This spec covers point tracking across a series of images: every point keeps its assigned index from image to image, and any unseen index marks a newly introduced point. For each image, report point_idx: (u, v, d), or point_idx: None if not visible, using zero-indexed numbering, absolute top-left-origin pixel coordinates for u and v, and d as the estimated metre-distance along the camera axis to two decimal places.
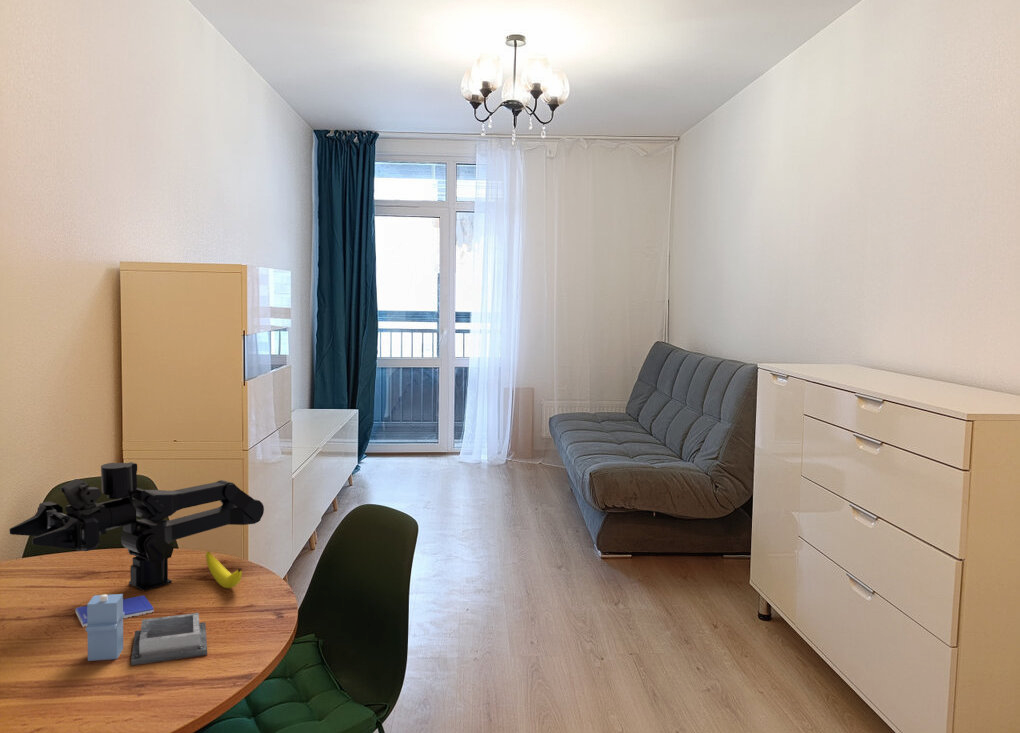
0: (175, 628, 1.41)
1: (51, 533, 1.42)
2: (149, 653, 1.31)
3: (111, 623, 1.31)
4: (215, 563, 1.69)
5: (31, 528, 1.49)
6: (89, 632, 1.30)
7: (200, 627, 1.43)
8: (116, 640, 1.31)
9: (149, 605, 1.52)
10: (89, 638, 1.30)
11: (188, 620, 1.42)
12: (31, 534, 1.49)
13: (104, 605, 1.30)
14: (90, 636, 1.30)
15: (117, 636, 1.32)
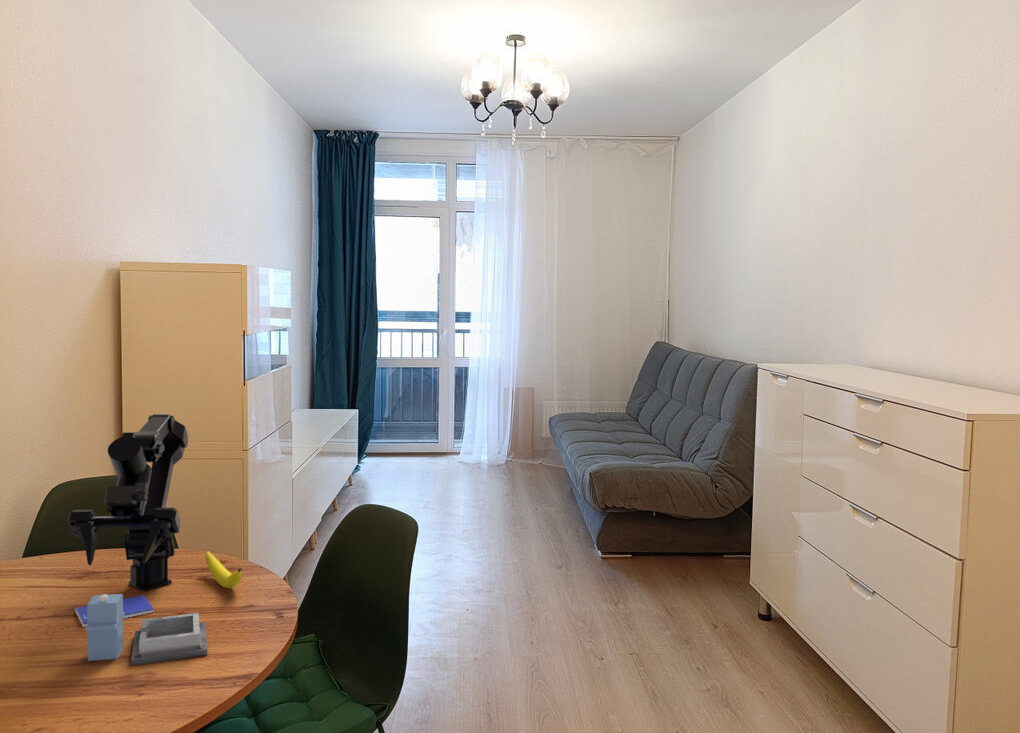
0: (175, 628, 1.41)
1: (151, 545, 1.42)
2: (149, 653, 1.31)
3: (111, 623, 1.31)
4: (215, 563, 1.69)
5: (93, 546, 1.41)
6: (90, 632, 1.30)
7: (200, 627, 1.43)
8: (116, 640, 1.31)
9: (149, 605, 1.52)
10: (89, 638, 1.30)
11: (188, 620, 1.42)
12: None
13: (104, 605, 1.30)
14: (90, 636, 1.30)
15: (117, 636, 1.32)
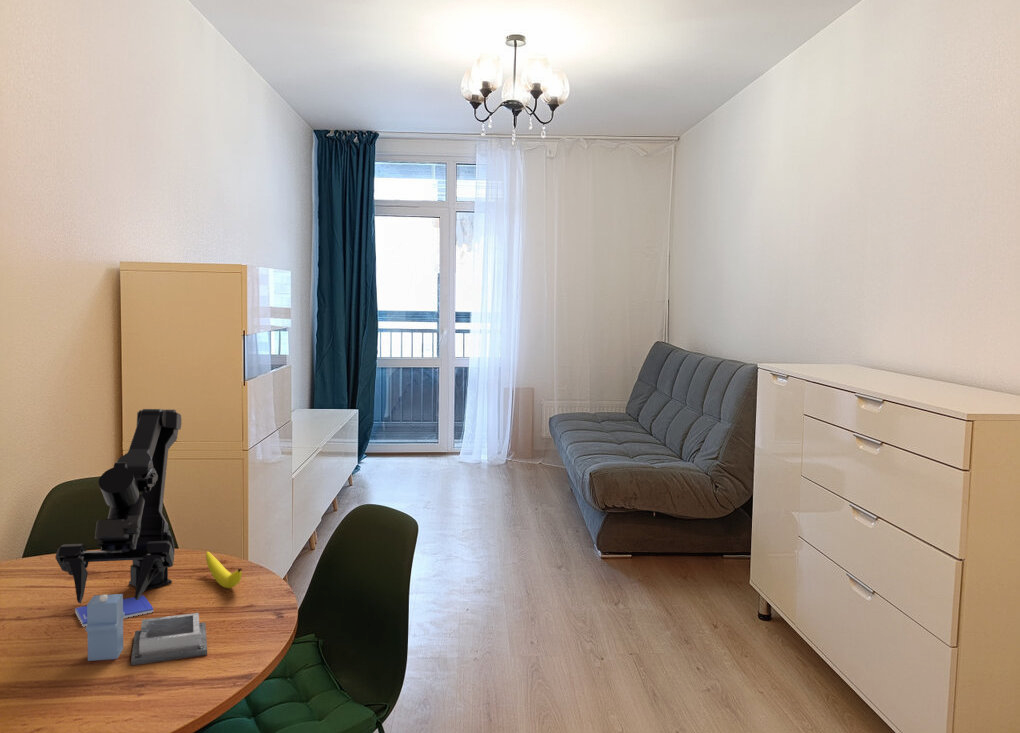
0: (175, 628, 1.41)
1: (143, 580, 1.36)
2: (149, 653, 1.31)
3: (111, 623, 1.31)
4: (215, 563, 1.69)
5: (83, 582, 1.35)
6: (90, 632, 1.30)
7: (200, 627, 1.43)
8: (116, 640, 1.31)
9: (149, 605, 1.52)
10: (89, 638, 1.30)
11: (188, 620, 1.42)
12: None
13: (104, 605, 1.30)
14: (90, 636, 1.30)
15: (117, 636, 1.32)
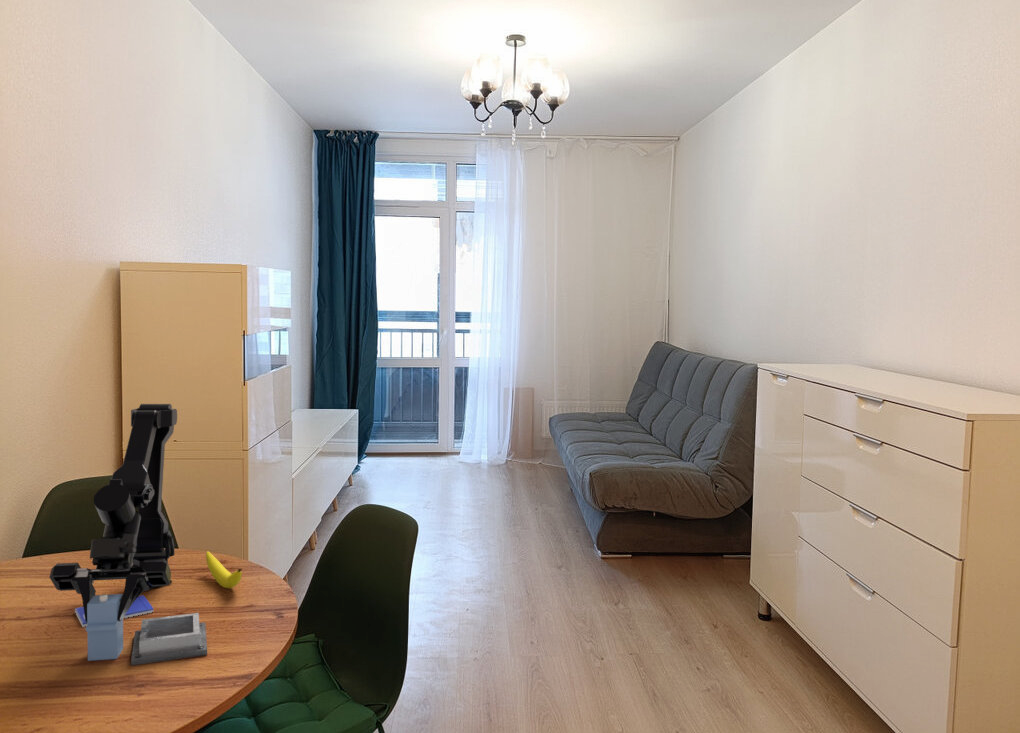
0: (175, 628, 1.41)
1: (126, 601, 1.33)
2: (149, 653, 1.31)
3: (111, 623, 1.31)
4: (215, 563, 1.69)
5: None
6: (89, 632, 1.30)
7: (200, 627, 1.43)
8: (116, 640, 1.31)
9: (149, 605, 1.52)
10: (89, 638, 1.30)
11: (188, 620, 1.42)
12: None
13: (104, 605, 1.30)
14: (90, 636, 1.30)
15: (117, 636, 1.32)
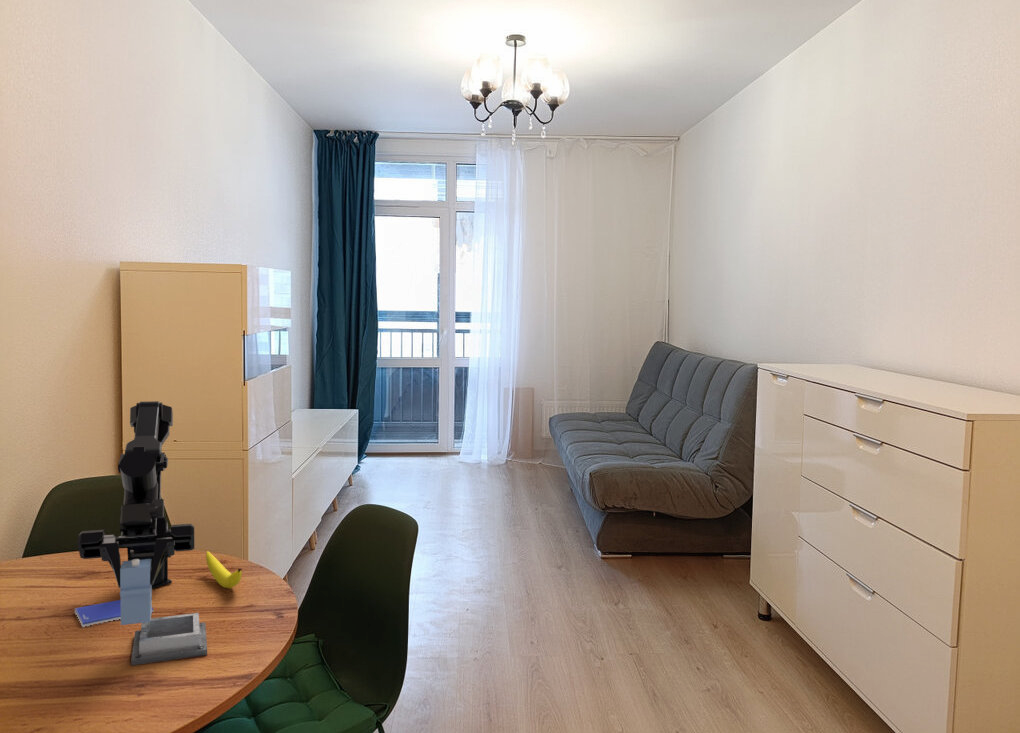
0: (175, 628, 1.41)
1: (157, 565, 1.35)
2: (149, 653, 1.31)
3: (144, 586, 1.32)
4: (215, 563, 1.69)
5: (120, 567, 1.34)
6: (122, 596, 1.31)
7: (200, 627, 1.43)
8: (149, 603, 1.33)
9: None
10: (122, 602, 1.31)
11: (188, 620, 1.42)
12: None
13: (137, 569, 1.32)
14: (123, 600, 1.31)
15: (150, 599, 1.33)
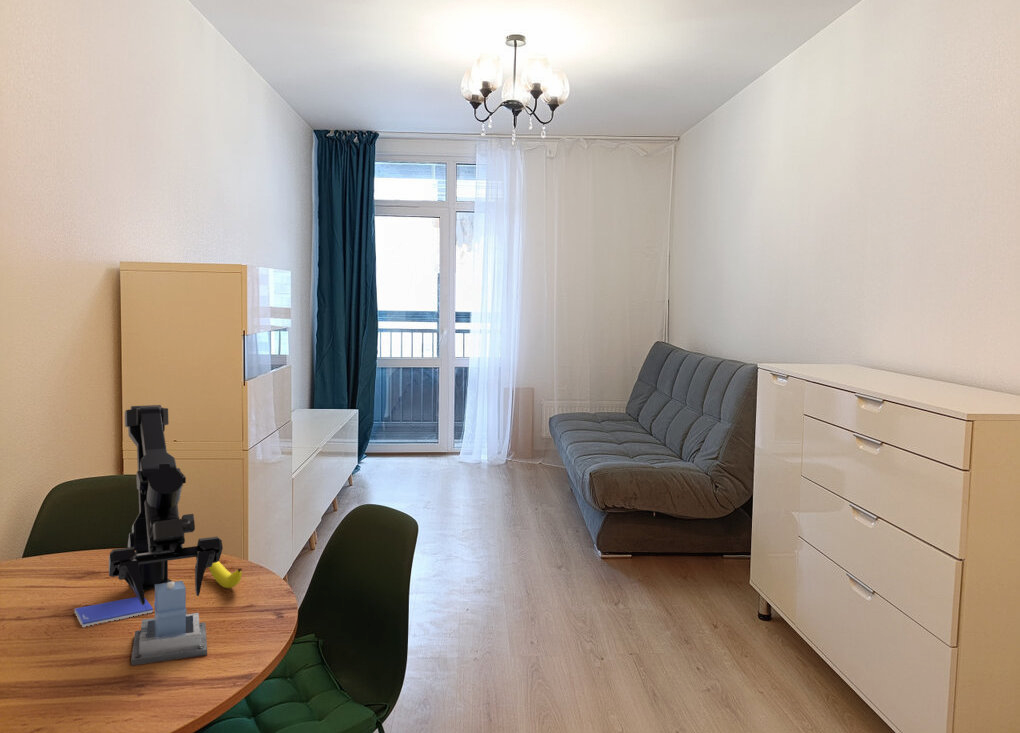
0: None
1: (202, 576, 1.39)
2: (149, 653, 1.31)
3: (180, 608, 1.35)
4: (215, 563, 1.69)
5: None
6: (159, 619, 1.34)
7: (200, 627, 1.43)
8: (184, 624, 1.36)
9: (148, 605, 1.52)
10: (159, 625, 1.34)
11: (188, 620, 1.42)
12: None
13: (173, 592, 1.35)
14: (160, 623, 1.34)
15: None
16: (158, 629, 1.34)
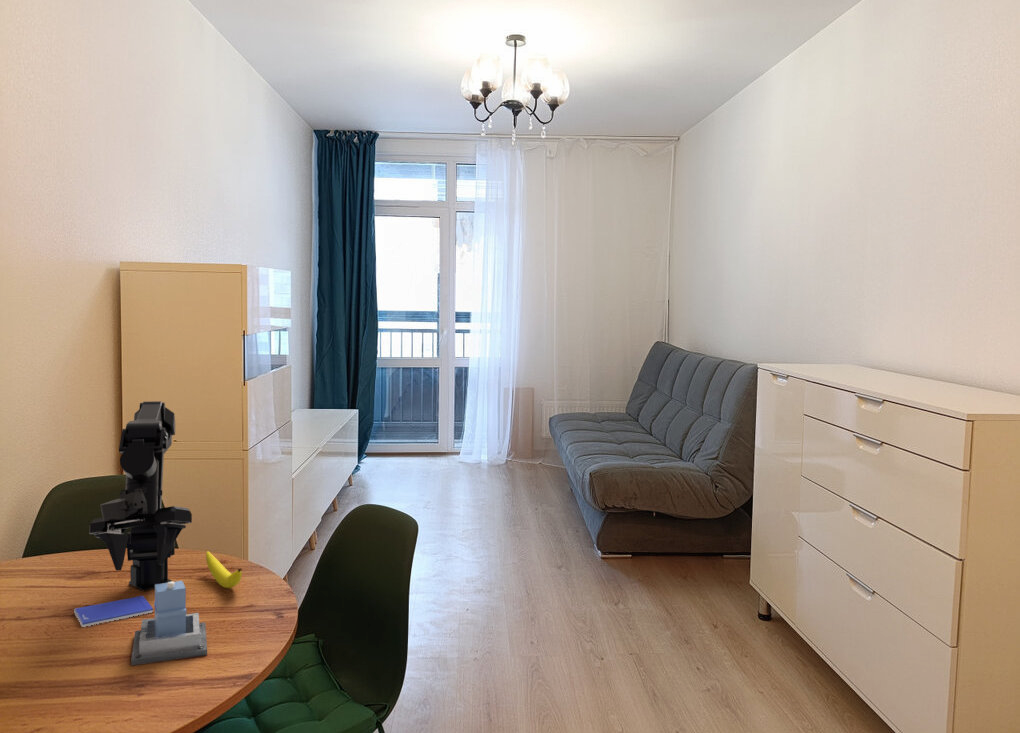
0: None
1: (161, 547, 1.43)
2: (149, 653, 1.31)
3: (180, 608, 1.35)
4: (215, 563, 1.69)
5: (120, 550, 1.46)
6: (159, 619, 1.34)
7: (200, 627, 1.43)
8: (184, 624, 1.36)
9: (148, 605, 1.52)
10: (159, 625, 1.34)
11: (188, 620, 1.42)
12: (124, 550, 1.47)
13: (173, 592, 1.35)
14: (160, 623, 1.34)
15: None
16: (158, 629, 1.34)
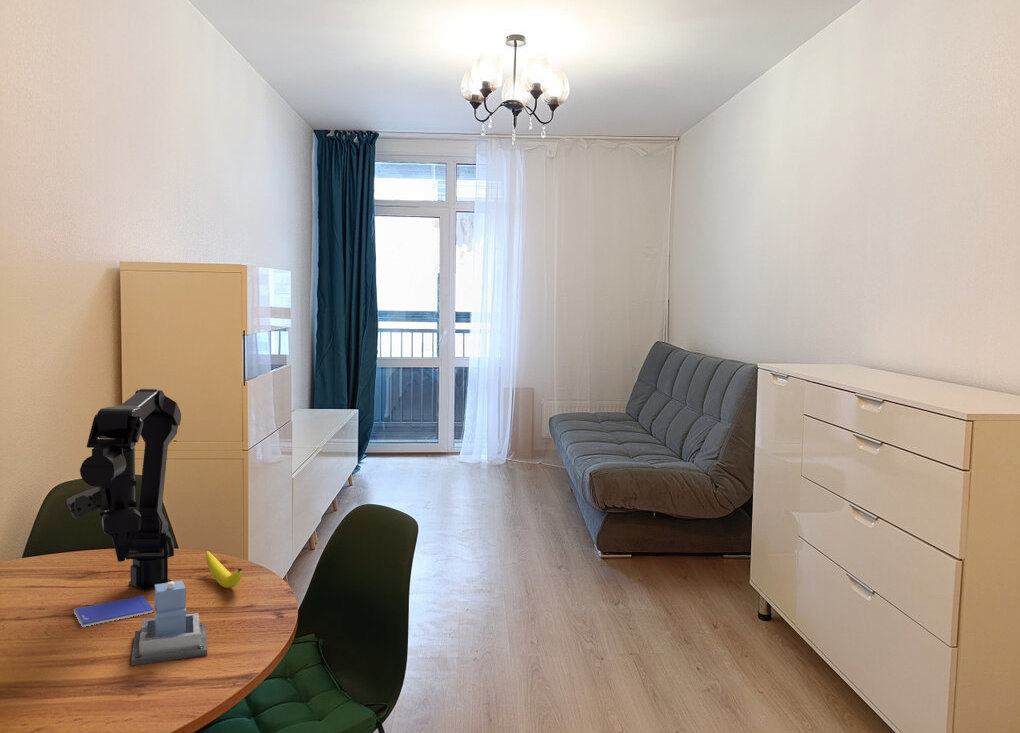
0: None
1: (115, 548, 1.41)
2: (149, 653, 1.31)
3: (180, 608, 1.35)
4: (215, 563, 1.69)
5: None
6: (159, 619, 1.34)
7: (200, 627, 1.43)
8: (184, 624, 1.36)
9: (148, 605, 1.52)
10: (159, 625, 1.34)
11: (188, 620, 1.42)
12: None
13: (173, 592, 1.35)
14: (160, 623, 1.34)
15: None
16: (158, 629, 1.34)
